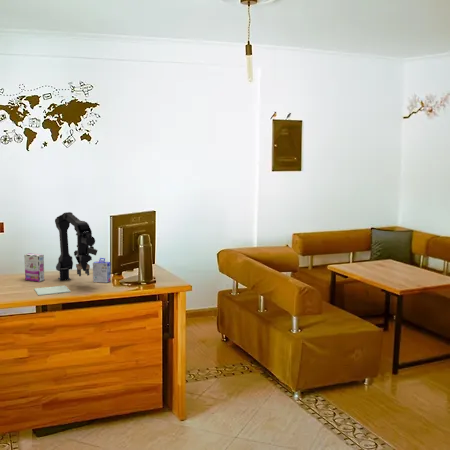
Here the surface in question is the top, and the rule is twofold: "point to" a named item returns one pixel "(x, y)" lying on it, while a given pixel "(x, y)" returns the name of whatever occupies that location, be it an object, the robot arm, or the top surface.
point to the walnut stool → (82, 268)
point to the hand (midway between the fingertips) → (83, 269)
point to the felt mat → (52, 290)
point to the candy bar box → (34, 267)
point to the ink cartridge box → (101, 271)
